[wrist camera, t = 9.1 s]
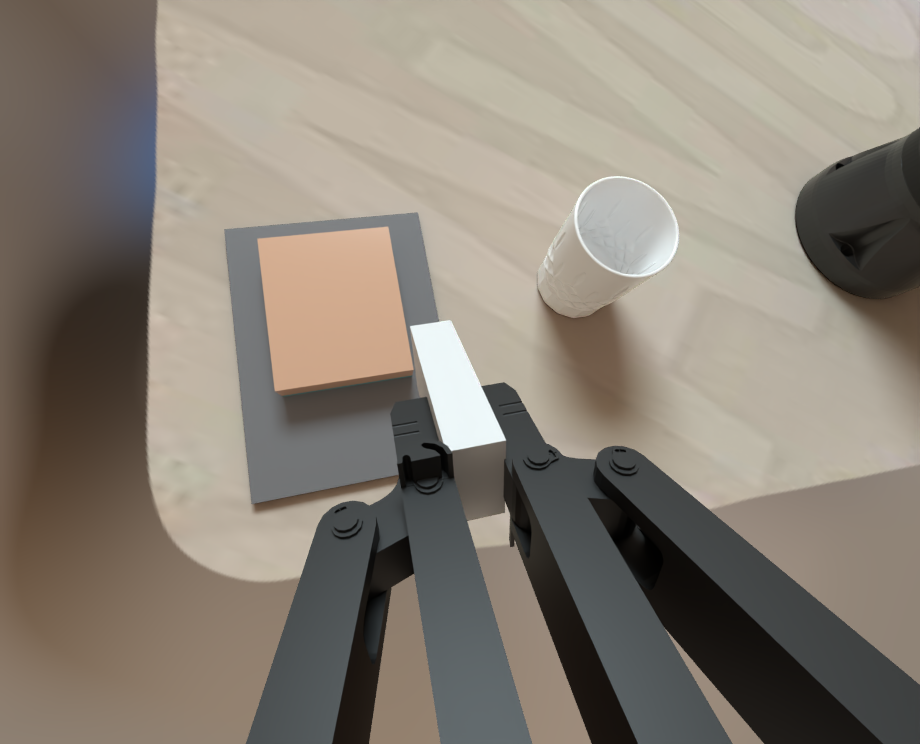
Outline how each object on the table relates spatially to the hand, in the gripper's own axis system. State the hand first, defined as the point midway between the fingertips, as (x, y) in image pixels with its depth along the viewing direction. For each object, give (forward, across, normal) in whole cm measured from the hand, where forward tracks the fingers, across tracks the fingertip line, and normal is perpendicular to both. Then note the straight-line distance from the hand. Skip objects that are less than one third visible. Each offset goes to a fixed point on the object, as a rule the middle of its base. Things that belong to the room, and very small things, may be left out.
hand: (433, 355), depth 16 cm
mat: (+18, -5, -9) cm, 21 cm away
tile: (+15, -5, -10) cm, 19 cm away
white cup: (+21, +16, -8) cm, 28 cm away
